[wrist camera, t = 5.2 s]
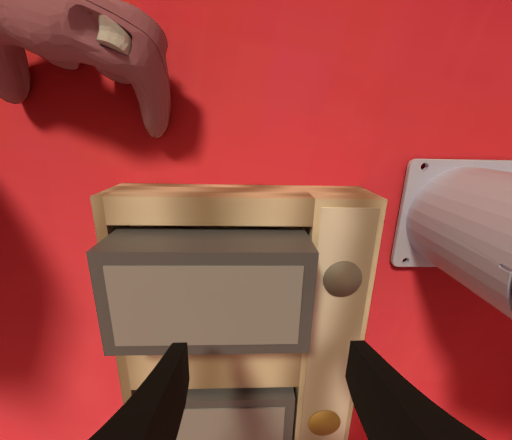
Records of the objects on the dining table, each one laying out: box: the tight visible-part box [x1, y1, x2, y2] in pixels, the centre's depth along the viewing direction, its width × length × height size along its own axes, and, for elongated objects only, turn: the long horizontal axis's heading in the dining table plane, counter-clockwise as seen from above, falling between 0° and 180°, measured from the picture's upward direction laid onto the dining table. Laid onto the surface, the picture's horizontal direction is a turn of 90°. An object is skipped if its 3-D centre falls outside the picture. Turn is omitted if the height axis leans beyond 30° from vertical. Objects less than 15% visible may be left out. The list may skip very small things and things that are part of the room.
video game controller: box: [0, 0, 171, 138], centre depth 15 cm, size 10×5×7 cm, turn 77°
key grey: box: [86, 228, 319, 356], centre depth 16 cm, size 11×6×4 cm, turn 89°
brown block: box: [176, 387, 295, 440], centre depth 22 cm, size 11×6×4 cm, turn 89°
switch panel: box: [90, 183, 387, 440], centre depth 21 cm, size 16×22×4 cm
